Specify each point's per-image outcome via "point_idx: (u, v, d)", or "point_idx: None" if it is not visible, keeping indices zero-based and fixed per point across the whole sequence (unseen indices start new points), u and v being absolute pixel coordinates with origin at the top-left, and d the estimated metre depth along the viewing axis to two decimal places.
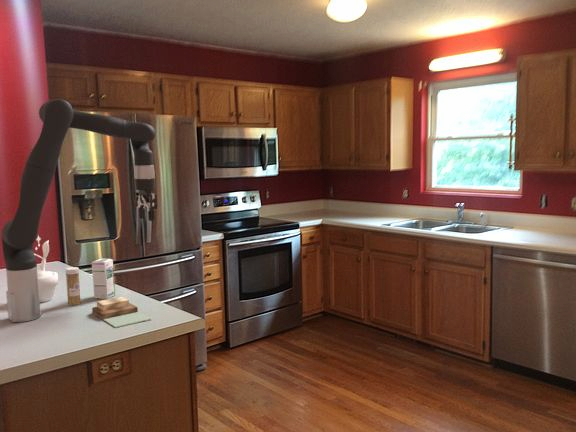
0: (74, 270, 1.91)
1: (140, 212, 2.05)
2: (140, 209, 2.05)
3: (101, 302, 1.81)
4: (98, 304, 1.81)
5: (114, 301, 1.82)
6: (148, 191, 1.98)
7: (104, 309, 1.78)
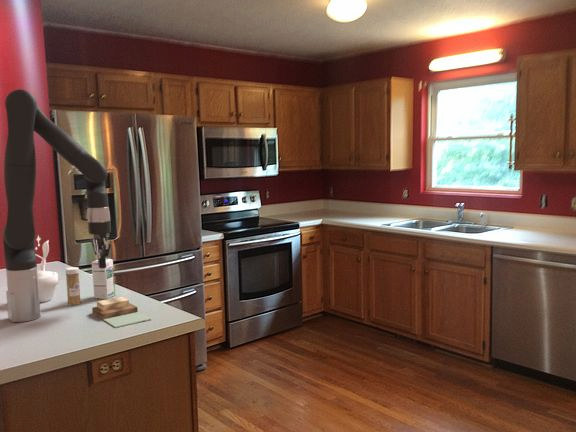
0: (74, 270, 1.91)
1: None
2: None
3: (101, 302, 1.81)
4: (98, 304, 1.81)
5: (114, 301, 1.82)
6: (102, 235, 1.83)
7: (104, 309, 1.78)
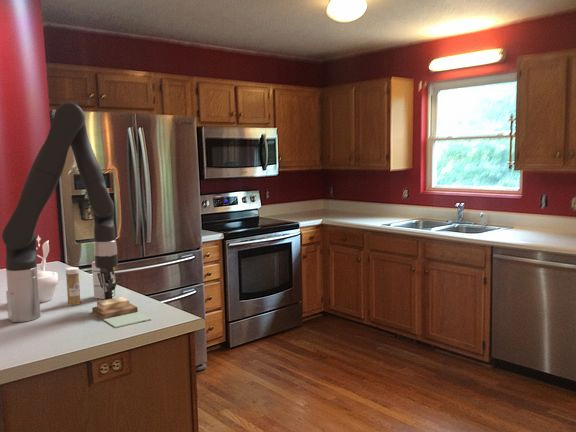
0: (74, 270, 1.91)
1: None
2: None
3: (101, 302, 1.81)
4: (98, 304, 1.81)
5: (114, 301, 1.82)
6: (109, 269, 1.82)
7: (104, 309, 1.78)
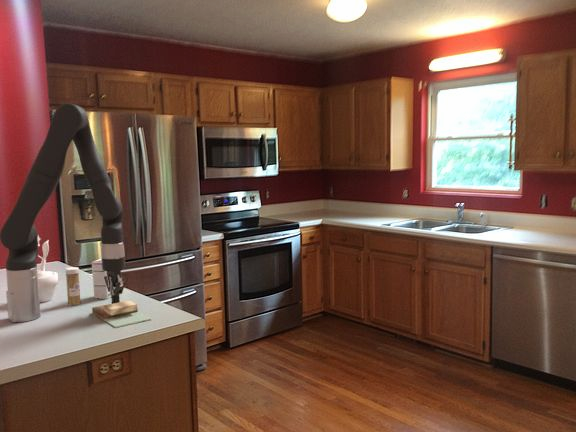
0: (74, 270, 1.91)
1: None
2: None
3: (108, 306, 1.76)
4: (105, 308, 1.76)
5: (122, 305, 1.77)
6: (117, 272, 1.77)
7: (112, 314, 1.73)
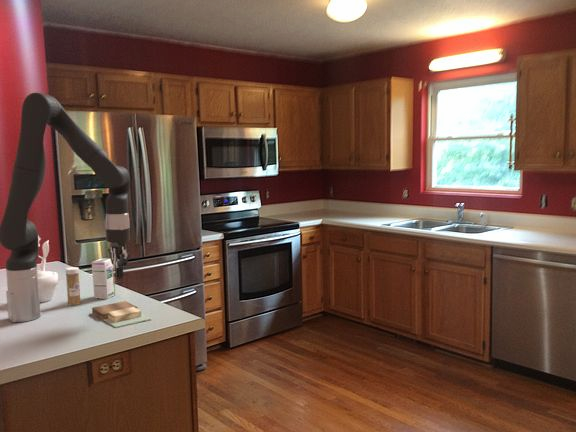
0: (74, 270, 1.91)
1: None
2: None
3: (112, 313, 1.74)
4: (109, 315, 1.74)
5: (126, 312, 1.75)
6: (121, 244, 1.71)
7: (116, 320, 1.71)
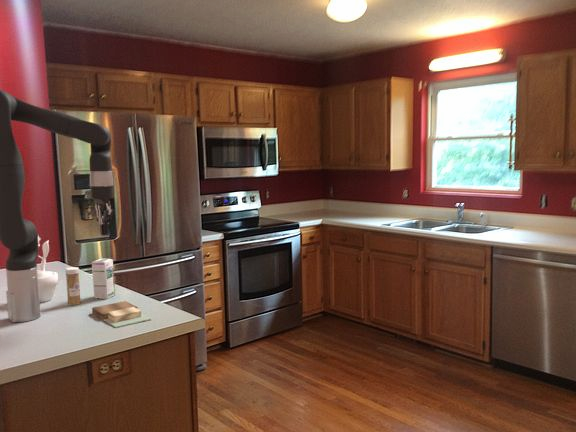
0: (74, 270, 1.91)
1: None
2: None
3: (112, 313, 1.74)
4: (109, 315, 1.74)
5: (126, 312, 1.75)
6: (105, 200, 1.76)
7: (116, 320, 1.71)
